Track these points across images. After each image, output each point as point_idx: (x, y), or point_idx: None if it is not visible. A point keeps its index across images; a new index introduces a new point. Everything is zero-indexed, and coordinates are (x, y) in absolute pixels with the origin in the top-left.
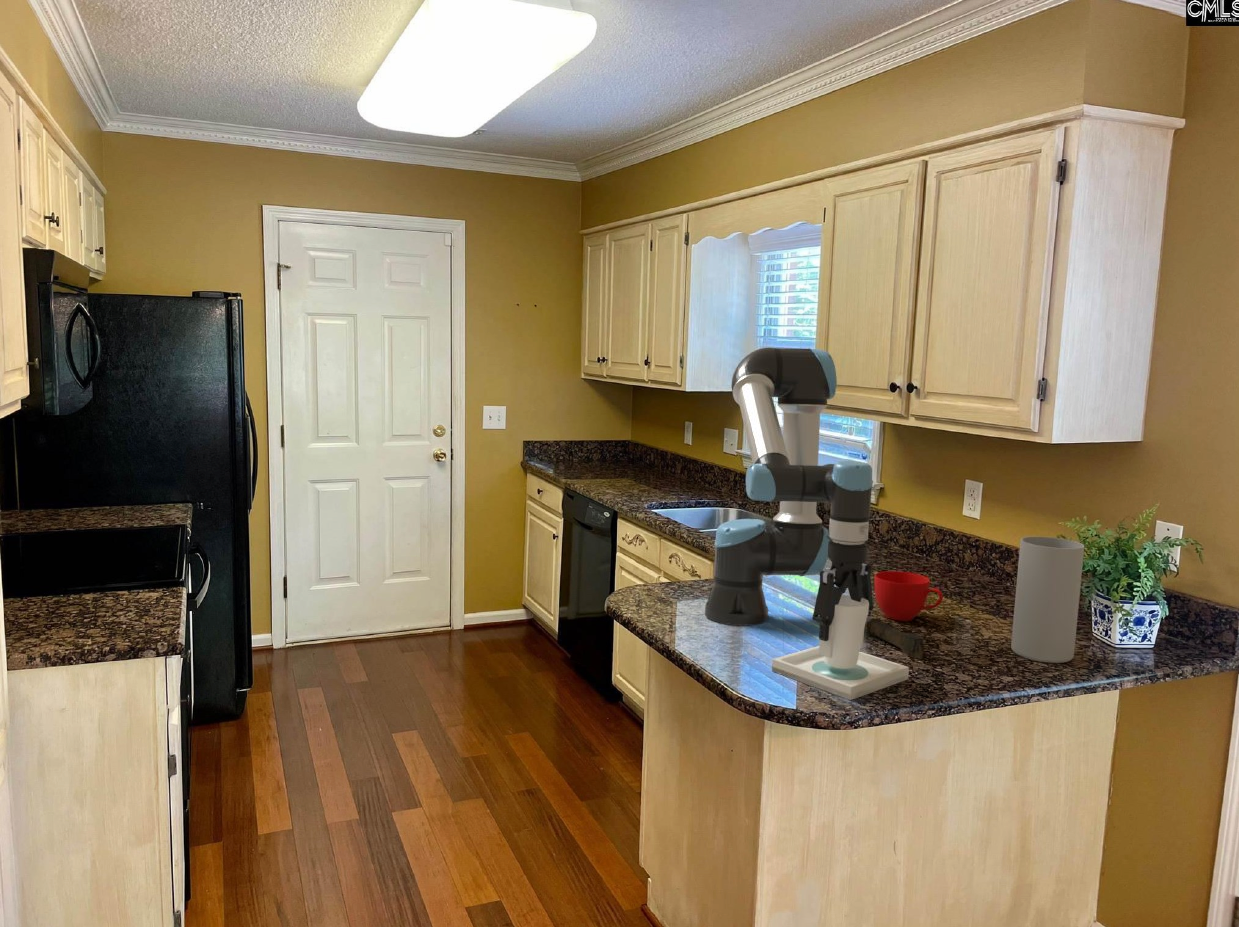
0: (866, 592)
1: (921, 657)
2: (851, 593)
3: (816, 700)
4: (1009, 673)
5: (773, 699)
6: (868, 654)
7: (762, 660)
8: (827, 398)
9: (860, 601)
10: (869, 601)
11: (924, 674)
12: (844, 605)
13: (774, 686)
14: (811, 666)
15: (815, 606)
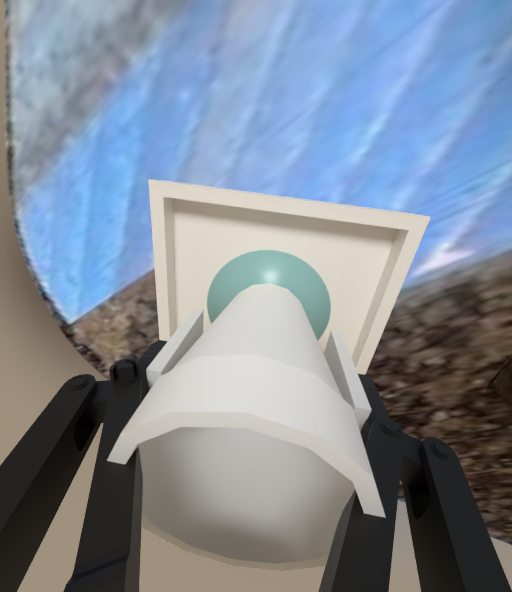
0: (429, 589)
1: (493, 387)
2: (338, 546)
3: (125, 331)
4: (489, 486)
5: (59, 279)
6: (378, 338)
7: (210, 97)
8: None
9: (338, 522)
10: (411, 524)
11: (391, 407)
12: (150, 521)
13: (103, 243)
14: (239, 253)
15: (26, 436)
